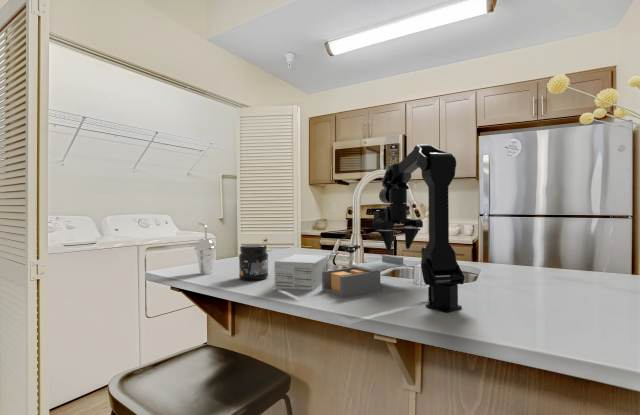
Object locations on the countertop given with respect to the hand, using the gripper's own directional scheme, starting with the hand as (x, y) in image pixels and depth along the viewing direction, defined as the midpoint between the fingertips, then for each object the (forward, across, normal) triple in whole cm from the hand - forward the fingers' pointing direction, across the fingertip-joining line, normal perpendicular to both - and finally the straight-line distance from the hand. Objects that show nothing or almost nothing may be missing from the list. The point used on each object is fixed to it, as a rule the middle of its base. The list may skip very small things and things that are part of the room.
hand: (398, 250), depth 112 cm
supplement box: (+12, +27, -17) cm, 34 cm away
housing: (+11, +21, 0) cm, 23 cm away
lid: (+4, +10, 0) cm, 11 cm away
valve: (+12, +8, -15) cm, 21 cm away
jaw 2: (+10, +17, 0) cm, 20 cm away
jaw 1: (+10, +24, 0) cm, 26 cm away
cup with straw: (+12, +47, -58) cm, 76 cm away
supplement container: (+12, +36, -38) cm, 53 cm away
